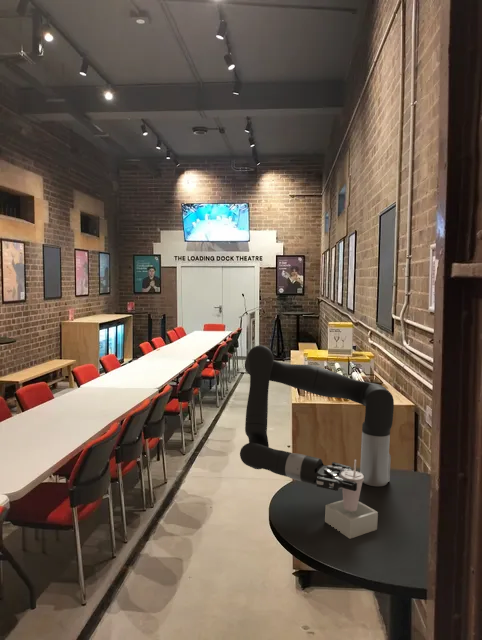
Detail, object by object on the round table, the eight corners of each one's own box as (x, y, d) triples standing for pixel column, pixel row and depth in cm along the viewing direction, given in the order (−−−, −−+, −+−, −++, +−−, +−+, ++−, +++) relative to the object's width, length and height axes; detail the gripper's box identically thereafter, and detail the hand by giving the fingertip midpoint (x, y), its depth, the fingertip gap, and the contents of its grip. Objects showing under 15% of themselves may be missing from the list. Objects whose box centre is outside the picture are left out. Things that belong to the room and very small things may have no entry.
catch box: (351, 513, 140) (352, 497, 139) (377, 529, 131) (377, 512, 130) (324, 521, 134) (325, 504, 134) (349, 538, 126) (350, 520, 125)
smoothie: (362, 515, 128) (365, 465, 127) (338, 511, 130) (341, 462, 128) (361, 504, 135) (364, 456, 133) (338, 501, 136) (341, 454, 135)
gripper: (294, 463, 132) (353, 478, 124) (313, 448, 144) (368, 461, 136) (293, 489, 133) (352, 505, 124) (312, 472, 145) (366, 486, 137)
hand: (360, 482), depth 130 cm, fingers closed on smoothie, 6 cm apart
